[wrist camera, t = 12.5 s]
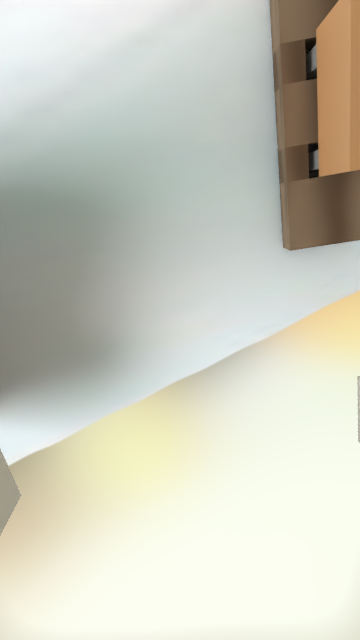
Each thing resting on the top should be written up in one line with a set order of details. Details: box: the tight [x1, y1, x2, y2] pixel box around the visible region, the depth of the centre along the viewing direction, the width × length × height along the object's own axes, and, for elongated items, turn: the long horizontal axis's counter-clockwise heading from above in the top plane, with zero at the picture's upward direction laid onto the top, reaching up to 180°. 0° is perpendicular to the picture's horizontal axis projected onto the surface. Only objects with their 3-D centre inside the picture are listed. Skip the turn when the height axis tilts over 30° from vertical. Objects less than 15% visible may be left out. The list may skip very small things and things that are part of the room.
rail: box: [270, 0, 360, 250], centre depth 31 cm, size 8×24×2 cm, turn 9°
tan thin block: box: [306, 0, 360, 177], centre depth 28 cm, size 3×11×10 cm, turn 9°
